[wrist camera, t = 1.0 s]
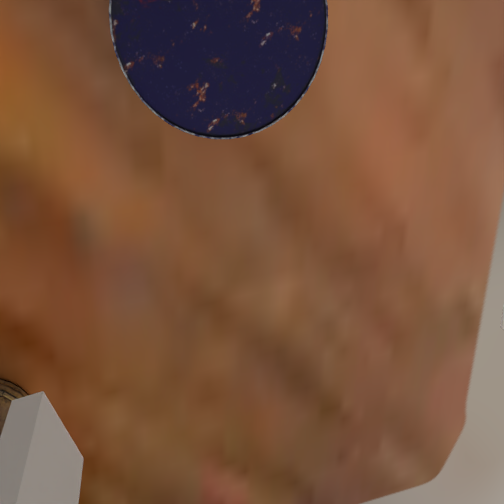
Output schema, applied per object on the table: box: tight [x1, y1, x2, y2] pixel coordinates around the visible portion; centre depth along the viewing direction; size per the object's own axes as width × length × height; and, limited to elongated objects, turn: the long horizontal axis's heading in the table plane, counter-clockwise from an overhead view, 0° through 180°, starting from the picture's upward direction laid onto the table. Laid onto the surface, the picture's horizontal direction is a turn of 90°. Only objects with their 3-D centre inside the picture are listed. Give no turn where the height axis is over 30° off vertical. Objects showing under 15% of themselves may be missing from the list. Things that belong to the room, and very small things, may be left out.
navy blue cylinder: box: [109, 0, 328, 139], centre depth 26 cm, size 10×10×15 cm
